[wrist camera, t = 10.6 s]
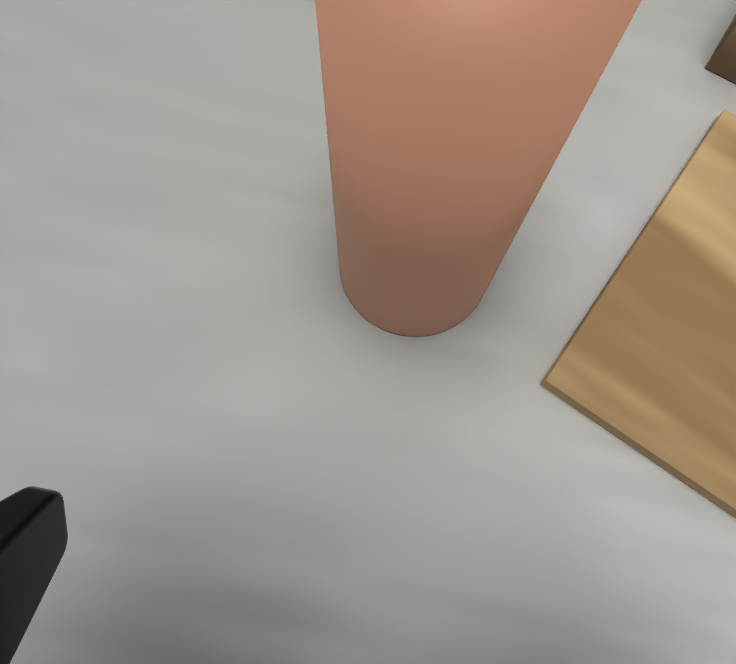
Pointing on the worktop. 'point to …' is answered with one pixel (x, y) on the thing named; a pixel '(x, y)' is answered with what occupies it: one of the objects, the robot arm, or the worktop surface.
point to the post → (448, 138)
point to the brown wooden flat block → (670, 331)
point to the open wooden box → (725, 55)
